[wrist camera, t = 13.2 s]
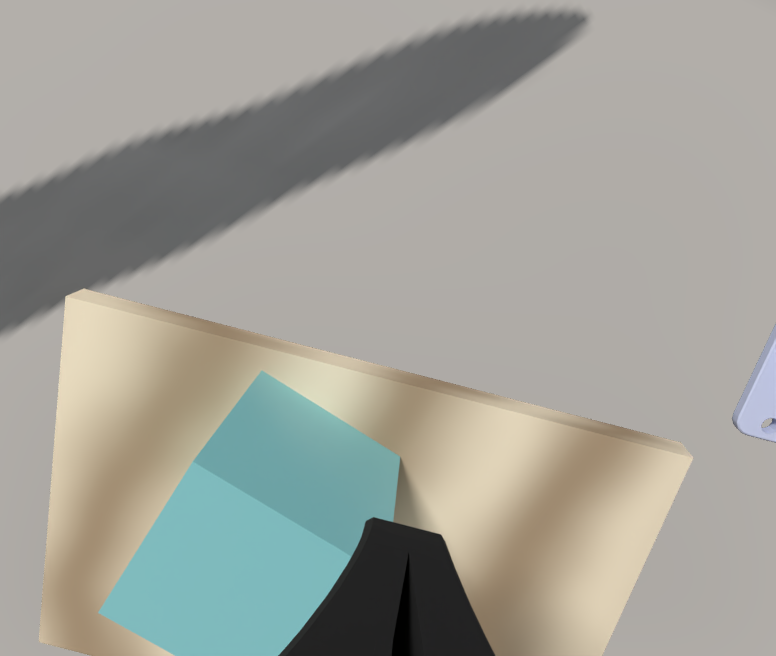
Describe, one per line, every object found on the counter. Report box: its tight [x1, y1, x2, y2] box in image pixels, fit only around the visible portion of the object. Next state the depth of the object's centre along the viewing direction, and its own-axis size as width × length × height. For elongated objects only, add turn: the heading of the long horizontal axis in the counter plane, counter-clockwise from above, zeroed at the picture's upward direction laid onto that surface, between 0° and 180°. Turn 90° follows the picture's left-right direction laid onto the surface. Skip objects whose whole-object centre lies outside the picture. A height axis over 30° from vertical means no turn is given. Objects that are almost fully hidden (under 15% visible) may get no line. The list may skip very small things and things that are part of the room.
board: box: [39, 289, 693, 656], centre depth 19 cm, size 20×14×5 cm
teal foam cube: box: [98, 371, 400, 656], centre depth 17 cm, size 5×5×6 cm
